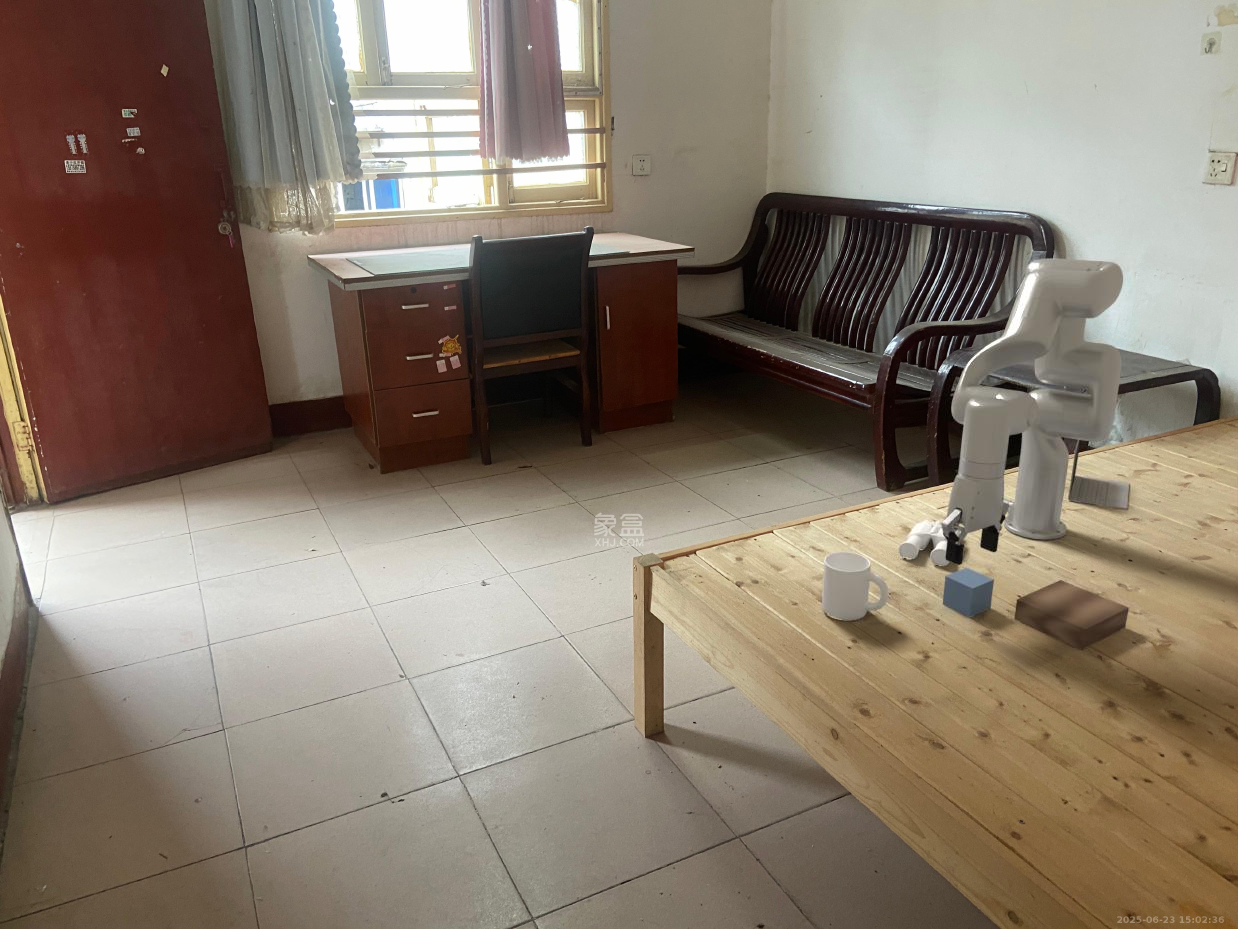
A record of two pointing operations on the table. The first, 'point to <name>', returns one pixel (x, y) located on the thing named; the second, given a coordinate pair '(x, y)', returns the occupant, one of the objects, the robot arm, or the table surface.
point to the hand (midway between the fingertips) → (971, 555)
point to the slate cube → (968, 592)
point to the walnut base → (1071, 614)
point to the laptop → (1097, 489)
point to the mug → (849, 586)
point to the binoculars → (926, 542)
